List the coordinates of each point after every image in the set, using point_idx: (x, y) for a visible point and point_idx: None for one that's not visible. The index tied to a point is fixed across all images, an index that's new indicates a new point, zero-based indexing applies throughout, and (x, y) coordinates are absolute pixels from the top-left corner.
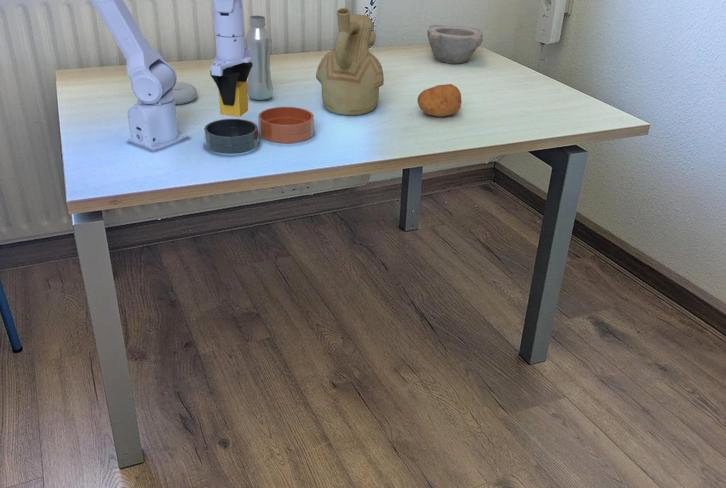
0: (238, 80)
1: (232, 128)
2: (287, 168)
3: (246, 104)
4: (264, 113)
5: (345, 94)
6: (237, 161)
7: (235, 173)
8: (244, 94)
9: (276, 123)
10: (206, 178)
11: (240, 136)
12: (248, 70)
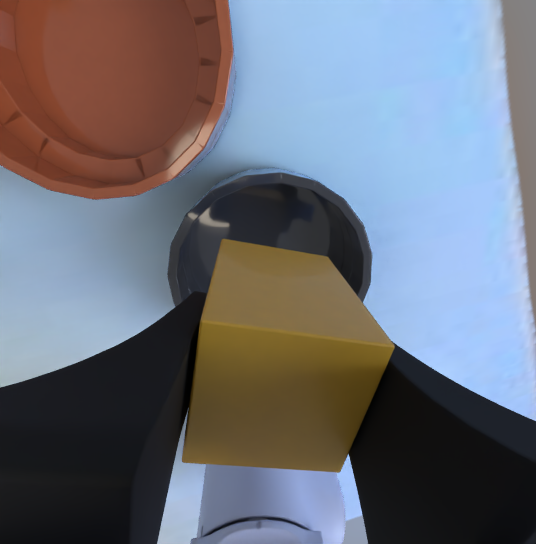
0: (182, 395)
1: (188, 281)
2: (459, 7)
3: (243, 254)
4: (57, 178)
5: None
6: (388, 211)
7: (476, 197)
8: (267, 287)
9: (47, 123)
10: (496, 266)
11: (360, 225)
12: (125, 399)
